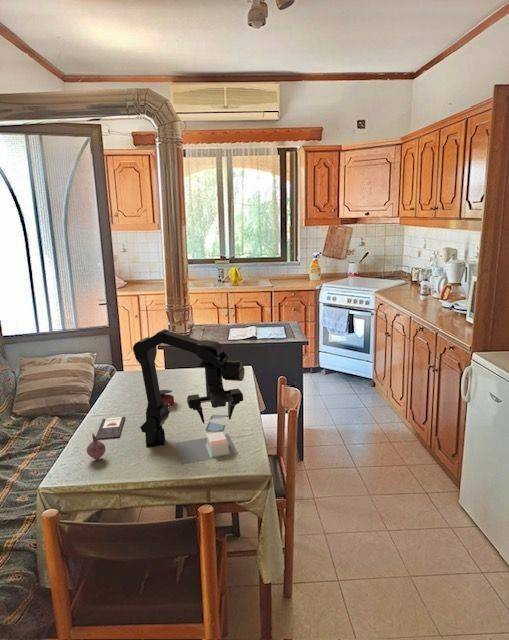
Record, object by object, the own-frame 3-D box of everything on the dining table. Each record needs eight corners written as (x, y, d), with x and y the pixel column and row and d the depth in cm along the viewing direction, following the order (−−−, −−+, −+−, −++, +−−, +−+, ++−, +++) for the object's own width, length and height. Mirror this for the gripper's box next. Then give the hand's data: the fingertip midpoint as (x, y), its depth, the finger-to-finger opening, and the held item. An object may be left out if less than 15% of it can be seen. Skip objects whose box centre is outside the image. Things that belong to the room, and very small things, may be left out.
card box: (207, 444, 169) (206, 433, 168) (223, 441, 170) (222, 431, 169) (211, 456, 160) (210, 445, 159) (228, 453, 162) (228, 442, 161)
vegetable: (90, 455, 165) (87, 429, 163) (108, 454, 165) (105, 428, 163) (85, 464, 159) (82, 437, 157) (104, 463, 159) (101, 436, 157)
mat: (180, 465, 156) (180, 464, 156) (175, 443, 171) (174, 442, 171) (238, 455, 161) (238, 453, 161) (228, 435, 176) (228, 433, 176)
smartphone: (229, 415, 193) (223, 431, 178) (229, 417, 193) (223, 433, 178) (211, 415, 194) (204, 430, 179) (211, 417, 194) (204, 433, 179)
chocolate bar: (94, 438, 176) (102, 418, 194) (95, 441, 176) (103, 421, 194) (119, 436, 177) (125, 416, 195) (119, 438, 178) (125, 418, 195)
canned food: (153, 418, 205) (141, 399, 203) (163, 406, 214) (151, 388, 212) (173, 408, 201) (161, 389, 199) (182, 397, 210) (170, 379, 208)
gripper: (190, 390, 149) (193, 435, 153) (246, 383, 154) (248, 426, 157) (185, 379, 160) (188, 421, 163) (238, 372, 164) (240, 413, 168)
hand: (216, 421), depth 163 cm, fingers open, 9 cm apart
